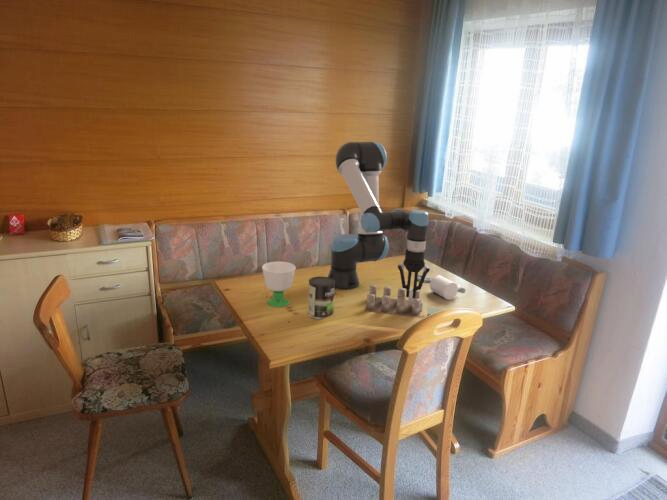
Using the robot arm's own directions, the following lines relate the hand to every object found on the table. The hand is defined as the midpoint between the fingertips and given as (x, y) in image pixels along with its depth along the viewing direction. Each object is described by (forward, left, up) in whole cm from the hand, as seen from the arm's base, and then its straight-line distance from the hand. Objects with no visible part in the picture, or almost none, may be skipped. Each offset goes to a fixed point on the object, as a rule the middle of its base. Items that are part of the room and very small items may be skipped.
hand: (409, 304), depth 199 cm
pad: (+9, 0, -3) cm, 9 cm away
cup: (-54, -7, -3) cm, 54 cm away
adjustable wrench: (+14, +34, -3) cm, 37 cm away
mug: (+16, +22, -3) cm, 28 cm away
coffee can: (-35, -13, -3) cm, 37 cm away
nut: (+3, 0, -2) cm, 3 cm away
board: (-7, 0, -3) cm, 7 cm away
